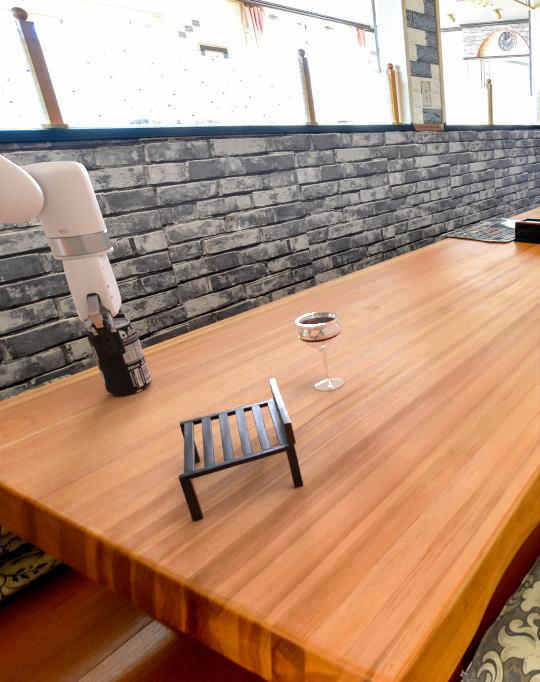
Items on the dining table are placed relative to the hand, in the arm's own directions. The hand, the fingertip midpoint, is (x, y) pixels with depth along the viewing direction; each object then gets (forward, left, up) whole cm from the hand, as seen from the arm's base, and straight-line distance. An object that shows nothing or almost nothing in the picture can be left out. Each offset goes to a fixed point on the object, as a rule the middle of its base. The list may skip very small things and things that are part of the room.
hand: (117, 345), depth 89 cm
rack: (+15, -38, -8) cm, 42 cm away
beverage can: (0, 0, -8) cm, 8 cm away
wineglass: (+30, -18, -8) cm, 36 cm away
